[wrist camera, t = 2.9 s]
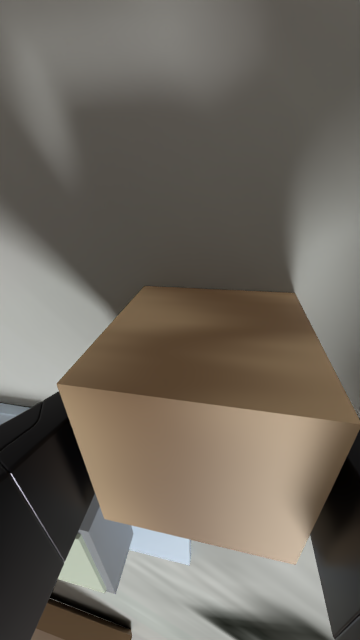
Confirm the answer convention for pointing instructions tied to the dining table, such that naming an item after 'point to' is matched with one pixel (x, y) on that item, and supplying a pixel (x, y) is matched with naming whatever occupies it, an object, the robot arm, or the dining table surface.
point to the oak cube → (212, 418)
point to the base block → (97, 552)
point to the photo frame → (76, 625)
